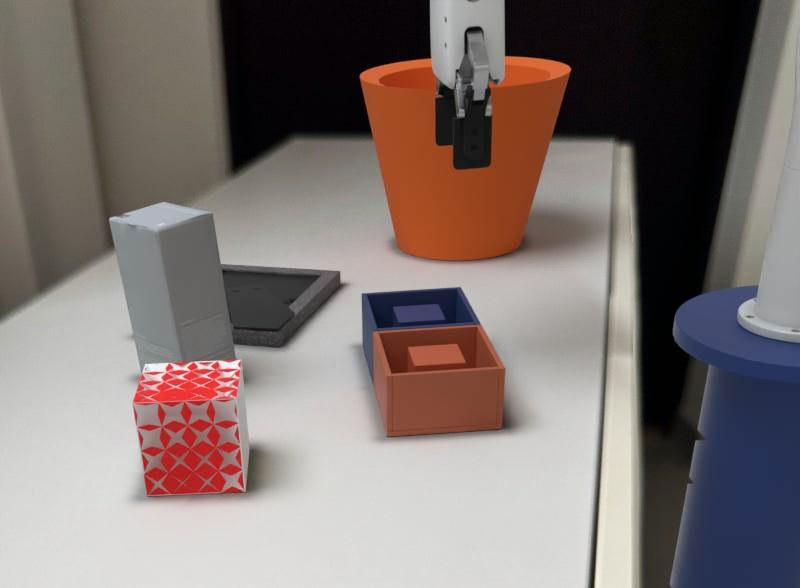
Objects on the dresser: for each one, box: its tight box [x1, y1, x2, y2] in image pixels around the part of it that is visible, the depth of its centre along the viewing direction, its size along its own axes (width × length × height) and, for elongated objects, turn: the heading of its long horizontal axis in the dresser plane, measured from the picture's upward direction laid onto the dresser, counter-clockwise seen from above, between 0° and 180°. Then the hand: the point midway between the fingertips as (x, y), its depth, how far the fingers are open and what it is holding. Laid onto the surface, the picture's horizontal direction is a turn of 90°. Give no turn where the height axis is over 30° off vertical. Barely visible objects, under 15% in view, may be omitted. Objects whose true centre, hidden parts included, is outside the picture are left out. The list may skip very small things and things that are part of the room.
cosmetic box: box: [108, 201, 237, 375], centre depth 99 cm, size 8×7×16 cm
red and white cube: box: [132, 359, 251, 497], centre depth 85 cm, size 8×8×8 cm
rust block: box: [408, 344, 466, 373], centre depth 94 cm, size 4×4×4 cm
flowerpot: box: [359, 55, 572, 261], centre depth 131 cm, size 25×25×20 cm
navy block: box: [393, 304, 446, 327], centre depth 103 cm, size 4×4×4 cm
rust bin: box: [373, 323, 506, 438], centre depth 94 cm, size 10×11×6 cm
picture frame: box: [221, 263, 342, 348], centre depth 119 cm, size 16×2×21 cm
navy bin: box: [361, 286, 482, 388], centre depth 103 cm, size 10×11×6 cm
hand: (461, 155), depth 94 cm, fingers open, 9 cm apart
